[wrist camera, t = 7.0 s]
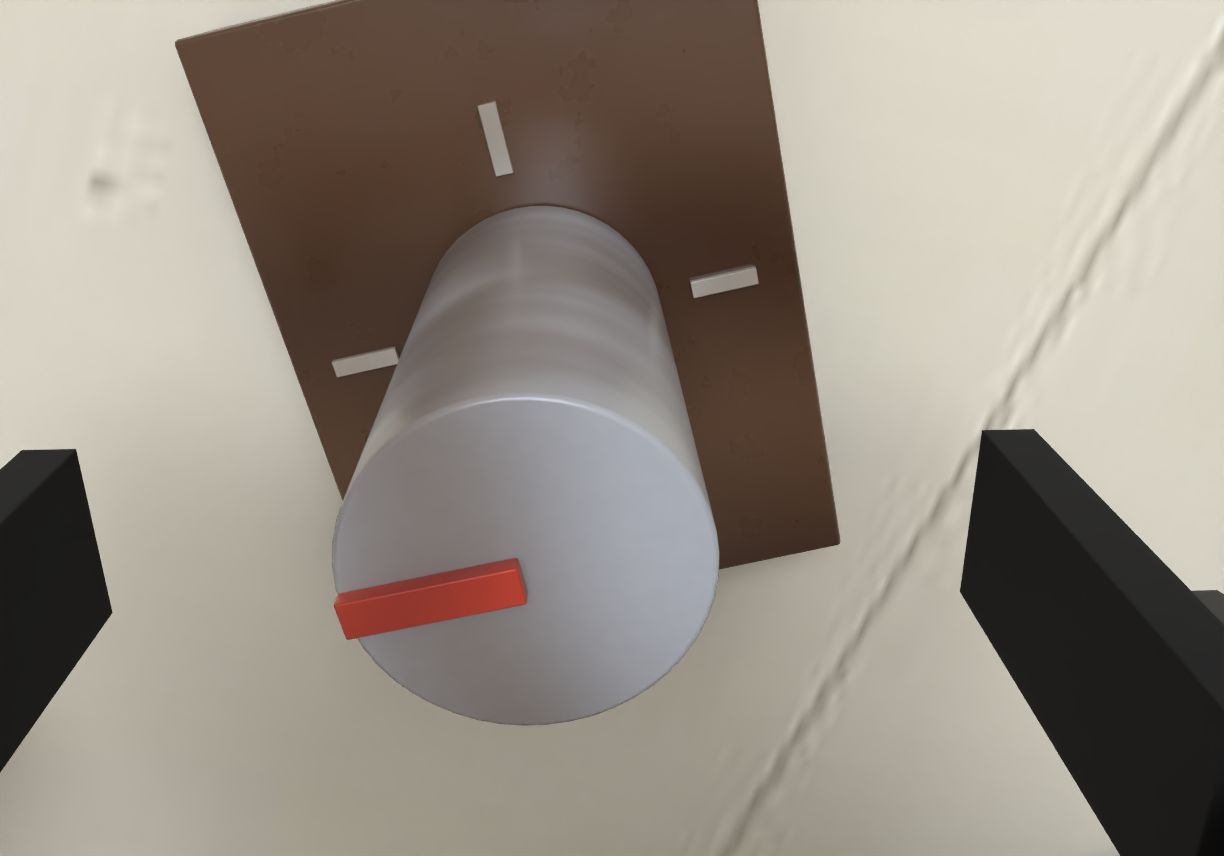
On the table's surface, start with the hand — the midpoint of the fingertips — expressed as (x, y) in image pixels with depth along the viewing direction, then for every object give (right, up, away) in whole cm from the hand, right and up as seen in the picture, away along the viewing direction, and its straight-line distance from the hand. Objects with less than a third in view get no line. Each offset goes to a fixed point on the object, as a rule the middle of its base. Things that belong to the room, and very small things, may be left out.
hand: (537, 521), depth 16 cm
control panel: (0, +5, +9) cm, 11 cm away
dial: (0, +4, +7) cm, 8 cm away
